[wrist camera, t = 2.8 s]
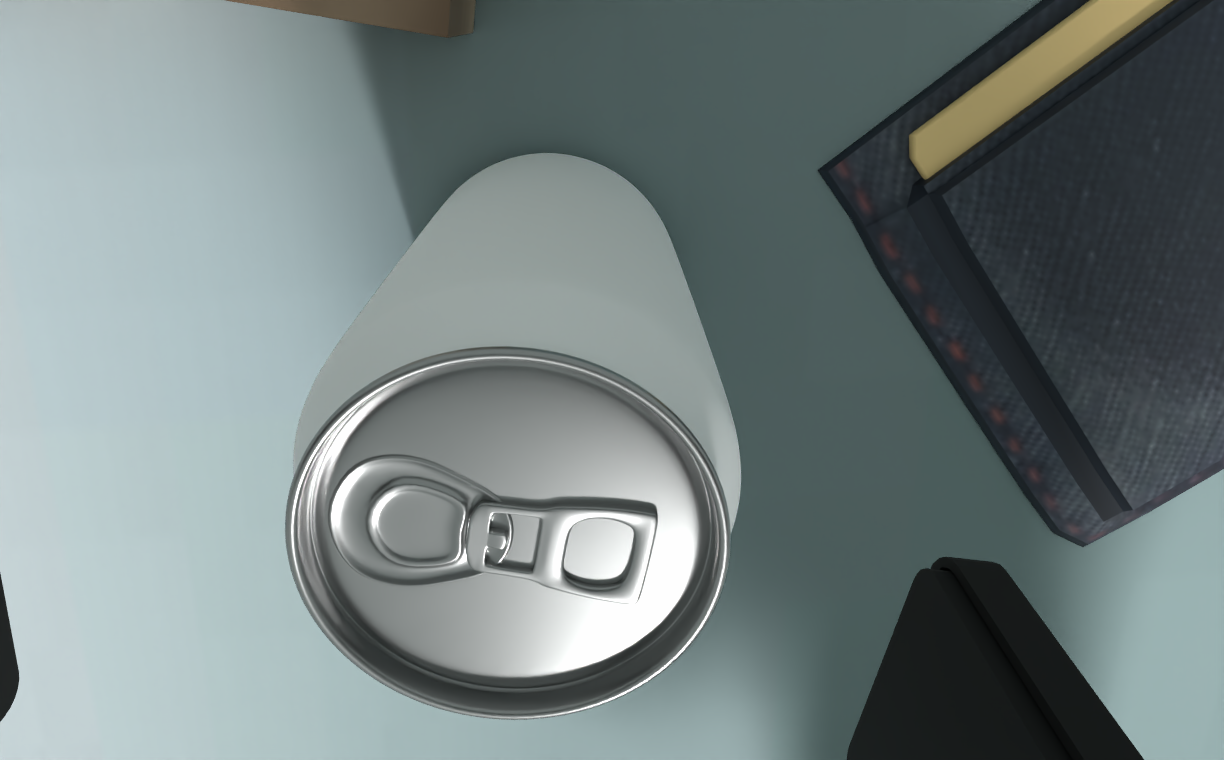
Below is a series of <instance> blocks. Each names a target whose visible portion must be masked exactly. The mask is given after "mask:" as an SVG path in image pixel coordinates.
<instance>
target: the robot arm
mask: <svg viewBox="0 0 1224 760" xmlns="http://www.w3.org/2000/svg"><path fill="white" fill-rule="evenodd" d="M18 684H19V670H18V665H17V660H16V654H15V649H14V644H13V638H12V633H11V628H10V622H9V617H8V612H7V606H6V601H5V596H4V590H3V585H2V580H1V574H0V721H1V720H2V719H3V718H4V716H5V715H6V713H7V712H8V710H9V709H10V707H11V705H12V703H13V701H14V699H15V696H16V693H17V689H18ZM847 760H1144V759H1143V758H1142V756H1141V755H1140V753H1139V752H1138V751H1137V749H1136V748H1135V747H1134V745H1133V744H1132V742H1131V741H1130V740H1129V738H1128V737H1127V736H1126V734H1125V733H1124V732H1123V730H1122V729H1121V727H1120V726H1119V725H1118V723H1117V722H1116V721H1115V719H1114V718H1113V716H1112V715H1111V714H1110V712H1109V711H1108V710H1107V708H1106V707H1105V705H1104V704H1103V703H1102V701H1101V700H1100V699H1099V697H1098V696H1097V695H1096V693H1095V692H1094V690H1093V689H1092V688H1091V686H1090V685H1089V684H1088V682H1087V681H1086V679H1085V678H1084V677H1083V675H1082V674H1081V673H1080V671H1079V670H1078V669H1077V667H1076V666H1075V664H1074V663H1073V662H1072V660H1071V659H1070V658H1069V656H1068V655H1067V653H1066V652H1065V651H1064V649H1063V648H1062V647H1061V645H1060V644H1059V642H1058V641H1057V640H1056V638H1055V637H1054V636H1053V634H1052V633H1051V632H1050V630H1049V629H1048V627H1047V626H1046V625H1045V623H1044V622H1043V621H1042V619H1041V618H1040V616H1039V615H1038V614H1037V612H1036V611H1035V610H1034V608H1033V607H1032V605H1031V604H1030V603H1029V601H1028V600H1027V599H1026V597H1025V596H1024V595H1023V593H1022V592H1021V590H1020V589H1019V588H1018V586H1017V585H1016V584H1015V582H1014V581H1013V579H1012V578H1011V577H1010V575H1009V574H1008V573H1007V571H1006V570H1005V569H1004V568H1003V567H1002V566H1001V565H1000V564H997V563H994V562H988V561H979V560H970V559H961V558H952V557H942V558H939V559H938V560H937V561H936V562H934V563H933V565H932V567H931V569H927V568H926V569H922V570H920V571H919V572H918V573H917V575H916V577H915V579H914V581H913V583H912V586H911V588H910V591H909V594H908V596H907V599H906V601H905V604H904V606H903V609H902V612H901V614H900V617H899V619H898V622H897V624H896V627H895V630H894V632H893V635H892V637H891V640H890V642H889V645H888V648H887V650H886V653H885V655H884V658H883V660H882V663H881V666H880V668H879V671H878V673H877V676H876V678H875V681H874V684H873V686H872V689H871V691H870V694H869V696H868V699H867V702H866V704H865V707H864V709H863V712H862V714H861V717H860V720H859V722H858V725H857V727H856V730H855V732H854V735H853V738H852V740H851V743H850V745H849V749H848V754H847Z"/></svg>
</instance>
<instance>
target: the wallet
mask: <svg viewBox="0 0 1224 760" xmlns="http://www.w3.org/2000/svg"><path fill="white" fill-rule="evenodd" d="M818 171H819V173H820V174H821V176H822V177H823V179H824V180H825V182H826V183H827V185H828V186H829V188H830V189H831V190H832V192H833V193H834V195H835V196H836V198H837V199H838V201H839V202H840V204H841V205H842V207H843V208H844V209H845V211H846V212H847V214H848V215H849V217H850V218H851V220H852V222H853V223H854V225H855V227H856V229H857V231H858V233H859V235H860V237H861V238H862V240H863V242H864V244H865V246H866V248H867V250H868V252H869V254H870V255H871V257H872V259H873V261H874V263H875V265H876V267H877V269H878V270H879V272H880V274H881V276H882V277H883V279H884V280H885V282H886V283H887V285H888V286H889V288H890V290H891V291H892V293H893V294H894V296H895V297H896V299H897V300H898V302H899V303H900V305H901V306H902V308H903V310H904V311H905V313H906V314H907V316H908V317H909V319H910V320H911V322H912V323H913V325H914V326H915V328H916V330H917V331H918V333H919V334H920V336H921V337H922V339H923V340H924V342H925V343H926V345H927V346H928V348H929V349H930V351H931V353H932V354H933V356H934V357H935V359H936V360H937V362H938V363H939V365H940V366H941V368H942V369H943V371H944V373H945V374H946V376H947V377H948V379H949V380H950V382H951V383H952V385H953V386H954V388H955V389H956V391H957V392H958V394H959V395H960V397H961V398H962V400H963V402H964V403H965V405H966V406H967V408H968V409H969V411H970V412H971V414H972V415H973V417H974V418H975V420H976V421H977V423H978V424H979V426H980V427H981V429H982V430H983V432H984V433H985V435H986V436H987V438H988V440H989V441H990V443H991V444H992V446H993V447H994V449H995V450H996V452H997V453H998V455H999V456H1000V458H1001V459H1002V461H1003V462H1004V464H1005V465H1006V467H1007V468H1008V470H1009V471H1010V473H1011V474H1012V476H1013V478H1014V479H1015V481H1016V482H1017V484H1018V485H1019V487H1020V488H1021V490H1022V491H1023V493H1024V494H1025V495H1026V497H1027V498H1028V499H1029V501H1030V502H1031V504H1032V505H1033V506H1034V508H1035V509H1036V510H1037V512H1038V513H1039V514H1040V516H1041V517H1042V518H1043V520H1044V521H1045V523H1046V524H1047V525H1048V527H1049V528H1050V529H1051V531H1052V532H1053V533H1054V534H1057V535H1059V536H1061V537H1063V538H1065V539H1067V540H1069V541H1071V542H1073V543H1075V544H1077V545H1079V546H1082V547H1084V546H1086V545H1088V544H1090V543H1092V542H1094V541H1096V540H1098V539H1100V538H1101V537H1103V536H1105V535H1107V534H1109V533H1111V532H1113V531H1115V530H1116V529H1118V528H1120V527H1122V526H1124V525H1126V524H1128V523H1129V522H1131V521H1133V520H1135V519H1137V518H1139V517H1141V516H1142V515H1144V514H1146V513H1148V512H1150V511H1152V510H1153V509H1155V508H1157V507H1159V506H1160V505H1162V504H1164V503H1166V502H1167V501H1169V500H1171V499H1172V498H1174V497H1176V496H1178V495H1179V494H1181V493H1183V492H1185V491H1186V490H1188V489H1190V488H1192V487H1193V486H1195V485H1197V484H1198V483H1200V482H1202V481H1204V480H1205V479H1207V478H1209V477H1211V476H1212V475H1214V474H1216V473H1217V472H1219V471H1221V470H1222V469H1224V0H1042V1H1041V2H1040V3H1038V4H1037V5H1036V6H1034V7H1033V8H1032V9H1030V10H1029V11H1028V12H1026V13H1025V14H1024V15H1022V16H1021V17H1020V18H1018V19H1017V20H1016V21H1014V22H1013V23H1012V24H1011V25H1009V26H1008V27H1007V28H1005V29H1004V30H1003V31H1001V32H1000V33H999V34H997V35H996V36H995V37H993V38H992V39H991V40H989V41H988V42H987V43H985V44H984V45H983V46H982V47H980V48H979V49H978V50H976V51H975V52H974V53H972V54H971V55H970V56H968V57H967V58H966V59H964V60H963V61H962V62H960V63H959V64H958V65H956V66H955V67H954V68H952V69H951V70H950V71H948V72H947V73H946V74H945V75H943V76H942V77H941V78H939V79H938V80H937V81H935V82H934V83H933V84H931V85H930V86H929V87H927V88H926V89H925V90H923V91H922V92H921V93H919V94H918V95H917V96H915V97H914V98H913V99H911V100H910V101H909V102H907V103H906V104H905V105H904V106H902V107H901V108H900V109H898V110H897V111H896V112H894V113H893V114H892V115H890V116H889V117H888V118H886V119H885V120H884V121H882V122H881V123H880V124H878V125H877V126H876V127H874V128H873V129H872V130H870V131H869V132H868V133H866V134H865V135H864V136H863V137H861V138H860V139H859V140H857V141H856V142H855V143H853V144H852V145H851V146H849V147H848V148H847V149H845V150H844V151H843V152H841V153H840V154H839V155H837V156H836V157H835V158H833V159H832V160H831V161H829V162H828V163H827V164H825V165H824V166H823V167H822V168H820V169H819V170H818Z"/></svg>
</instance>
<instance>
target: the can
mask: <svg viewBox="0 0 1224 760" xmlns="http://www.w3.org/2000/svg"><path fill="white" fill-rule="evenodd" d="M740 490H741V463H740V453H739V445H738V438H737V433H736V428H735V425H734V421H733V417H732V414H731V410H730V406H729V403H728V400H727V397H726V394H725V391H724V388H723V384H722V381H721V378H720V375H719V372H718V369H717V366H716V364H715V361H714V358H713V355H712V352H711V349H710V346H709V343H708V341H707V338H706V335H705V332H704V329H703V326H702V323H701V321H700V318H699V315H698V312H697V309H696V307H695V304H694V301H693V298H692V295H691V293H690V290H689V287H688V284H687V282H686V279H685V276H684V273H683V270H682V268H681V265H680V262H679V260H678V257H677V254H676V252H675V249H674V247H673V244H672V241H671V239H670V237H669V234H668V232H667V230H666V228H665V226H664V224H663V222H662V220H661V218H660V217H659V215H658V213H657V212H656V210H655V209H654V208H653V206H652V205H651V204H650V202H649V201H648V200H647V199H646V198H645V197H644V195H643V194H642V193H641V192H640V191H639V190H638V189H637V188H636V187H635V186H633V185H632V184H631V183H630V182H629V181H627V180H626V179H625V178H623V177H622V176H620V175H619V174H617V173H616V172H614V171H612V170H610V169H609V168H607V167H605V166H603V165H600V164H598V163H596V162H593V161H590V160H587V159H584V158H581V157H577V156H572V155H566V154H557V153H536V154H527V155H522V156H517V157H513V158H509V159H506V160H503V161H501V162H498V163H496V164H493V165H491V166H489V167H487V168H485V169H484V170H482V171H480V172H479V173H477V174H475V175H474V176H472V177H471V178H470V179H468V180H467V181H466V182H465V183H463V184H462V185H461V186H460V187H459V188H458V189H457V190H456V191H455V192H454V193H453V194H452V195H451V196H450V197H449V198H448V199H447V200H446V202H445V203H444V204H443V205H442V207H441V208H440V209H439V210H438V211H437V213H436V214H435V215H434V216H433V218H432V219H431V220H430V222H429V223H428V224H427V225H426V227H425V228H424V229H423V231H422V232H421V233H420V234H419V236H418V237H417V238H416V240H415V241H414V242H413V244H412V245H411V246H410V247H409V249H408V250H407V251H406V253H405V254H404V255H403V257H402V258H401V259H400V261H399V262H398V263H397V265H396V266H395V267H394V269H393V270H392V271H391V272H390V274H389V275H388V276H387V278H386V279H385V280H384V282H383V283H382V284H381V286H380V287H379V288H378V290H377V291H376V292H375V294H374V295H373V296H372V298H371V299H370V300H369V302H368V303H367V304H366V306H365V307H364V308H363V310H362V311H361V312H360V314H359V315H358V316H357V318H356V319H355V320H354V322H353V323H352V325H351V326H350V327H349V329H348V330H347V331H346V333H345V334H344V336H343V337H342V338H341V340H340V341H339V343H338V344H337V346H336V347H335V349H334V350H333V352H332V353H331V355H330V356H329V358H328V359H327V361H326V362H325V364H324V365H323V367H322V369H321V370H320V372H319V374H318V376H317V378H316V380H315V381H314V383H313V386H312V388H311V390H310V393H309V395H308V397H307V399H306V402H305V404H304V407H303V410H302V413H301V416H300V419H299V423H298V427H297V432H296V437H295V444H294V455H293V480H292V483H291V487H290V491H289V495H288V501H287V507H286V516H285V539H286V548H287V555H288V560H289V564H290V569H291V572H292V575H293V579H294V581H295V584H296V587H297V589H298V591H299V594H300V596H301V598H302V600H303V602H304V604H305V606H306V608H307V610H308V611H309V613H310V615H311V616H312V618H313V619H314V621H315V622H316V624H317V625H318V627H319V628H320V629H321V630H322V632H323V633H324V634H325V636H326V637H327V638H328V639H329V640H330V641H331V642H332V644H333V645H334V646H335V647H336V648H337V649H338V650H339V651H340V652H341V653H342V654H343V655H344V656H345V657H347V658H348V659H349V660H350V661H351V662H352V663H354V664H355V665H356V666H357V667H359V668H360V669H361V670H362V671H364V672H365V673H367V674H368V675H369V676H371V677H372V678H374V679H375V680H377V681H379V682H380V683H382V684H384V685H385V686H387V687H389V688H391V689H392V690H394V691H396V692H398V693H400V694H402V695H405V696H407V697H409V698H411V699H414V700H416V701H419V702H421V703H424V704H427V705H430V706H433V707H436V708H439V709H443V710H446V711H450V712H454V713H459V714H463V715H469V716H475V717H482V718H492V719H511V720H518V719H538V718H548V717H555V716H561V715H566V714H571V713H575V712H580V711H583V710H587V709H590V708H593V707H596V706H599V705H602V704H605V703H608V702H610V701H612V700H615V699H617V698H619V697H621V696H624V695H626V694H628V693H630V692H632V691H634V690H635V689H637V688H639V687H641V686H642V685H644V684H645V683H647V682H649V681H650V680H652V679H653V678H655V677H656V676H657V675H659V674H660V673H661V672H663V671H664V670H665V669H666V668H668V667H669V666H670V665H671V664H672V663H673V662H675V661H676V660H677V659H678V658H679V657H680V656H681V655H682V654H683V653H684V652H685V651H686V650H687V648H688V647H689V646H690V645H691V644H692V643H693V641H694V640H695V639H696V638H697V636H698V635H699V634H700V632H701V631H702V629H703V628H704V626H705V625H706V623H707V622H708V620H709V618H710V616H711V615H712V613H713V611H714V609H715V607H716V605H717V602H718V600H719V598H720V595H721V592H722V590H723V586H724V583H725V580H726V576H727V571H728V566H729V559H730V550H731V532H732V529H733V526H734V523H735V519H736V515H737V511H738V505H739V499H740Z"/></svg>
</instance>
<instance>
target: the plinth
mask: <svg viewBox="0 0 1224 760" xmlns="http://www.w3.org/2000/svg"><path fill="white" fill-rule="evenodd" d="M226 1H232V2H238V3H244V4H250V5H256V6H262V7H268V8H274V9H280V10H286V11H292V12H298V13H304V14H310V15H316V16H322V17H328V18H333V19H339V20H345V21H351V22H357V23H363V24H369V25H375V26H381V27H387V28H393V29H399V30H405V31H411V32H417V33H423V34H429V35H434V36H440V37H446V38H449V37H454V36H459V35H465V34H470V33H473V27H474V16H475V4H476V0H226Z"/></svg>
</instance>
